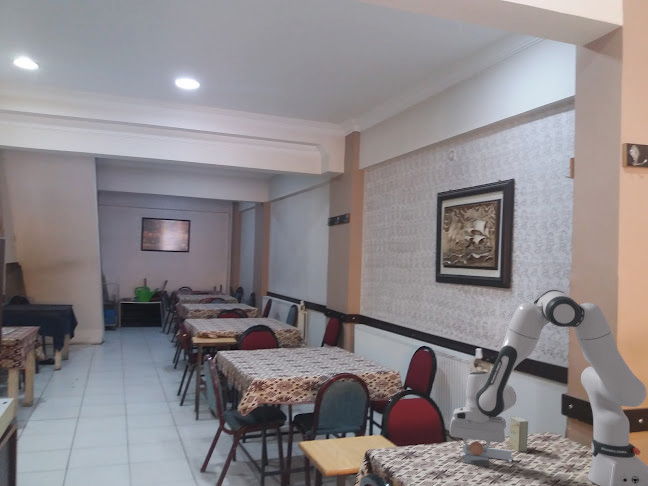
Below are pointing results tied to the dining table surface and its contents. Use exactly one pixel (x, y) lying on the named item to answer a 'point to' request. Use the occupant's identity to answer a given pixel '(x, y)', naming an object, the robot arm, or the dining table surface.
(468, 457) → the coaster
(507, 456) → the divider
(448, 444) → the dining table surface
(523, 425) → the skincare box
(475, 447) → the ball
